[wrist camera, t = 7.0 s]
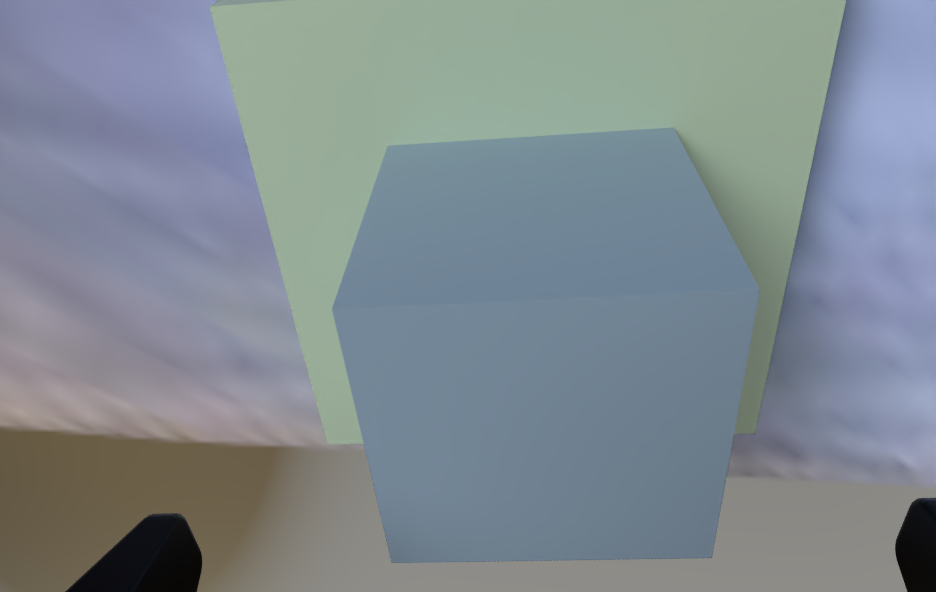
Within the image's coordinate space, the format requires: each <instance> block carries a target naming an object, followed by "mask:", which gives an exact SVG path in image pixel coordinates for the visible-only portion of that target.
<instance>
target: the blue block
mask: <svg viewBox="0 0 936 592" xmlns="http://www.w3.org/2000/svg"><path fill="white" fill-rule="evenodd" d="M759 293H760V289H759V287H758V285H757V283H756V281H755V279H754V277H753V276H752V274H751V272H750V270H749V268H748V266H747V264H746V262H745V261H744V259H743V257H742V255H741V253H740V251H739V249H738V247H737V246H736V244H735V242H734V240H733V238H732V236H731V234H730V232H729V231H728V229H727V227H726V225H725V223H724V221H723V219H722V217H721V216H720V214H719V212H718V210H717V208H716V206H715V204H714V202H713V201H712V199H711V197H710V195H709V193H708V191H707V189H706V187H705V186H704V184H703V182H702V180H701V178H700V176H699V174H698V172H697V171H696V169H695V167H694V165H693V163H692V161H691V159H690V157H689V156H688V154H687V152H686V150H685V148H684V146H683V144H682V142H681V141H680V139H679V137H678V135H677V133H676V131H675V129H674V127H673V128H658V129H642V130H626V131H611V132H595V133H579V134H563V135H548V136H532V137H516V138H501V139H485V140H469V141H454V142H438V143H422V144H406V145H391V146H387V149H386V152H385V155H384V158H383V161H382V164H381V167H380V169H379V172H378V175H377V178H376V181H375V184H374V187H373V190H372V193H371V196H370V199H369V202H368V205H367V208H366V210H365V213H364V216H363V219H362V222H361V225H360V228H359V231H358V234H357V237H356V240H355V243H354V246H353V249H352V252H351V254H350V257H349V260H348V263H347V266H346V269H345V272H344V275H343V278H342V281H341V284H340V287H339V290H338V293H337V295H336V298H335V301H334V304H333V307H332V312H333V316H334V320H335V324H336V329H337V333H338V337H339V341H340V346H341V350H342V354H343V358H344V363H345V367H346V371H347V375H348V380H349V384H350V388H351V392H352V396H353V401H354V405H355V409H356V413H357V418H358V422H359V426H360V430H361V435H362V439H363V443H364V447H365V452H366V456H367V460H368V464H369V468H370V473H371V477H372V481H373V486H374V489H375V494H376V498H377V502H378V507H379V511H380V515H381V519H382V524H383V528H384V532H385V536H386V541H387V545H388V549H389V553H390V558H391V562H392V563H421V562H486V561H543V560H544V561H551V560H611V559H612V560H614V559H676V558H677V559H678V558H712V554H713V549H714V543H715V537H716V532H717V526H718V521H719V515H720V510H721V504H722V499H723V493H724V487H725V482H726V476H727V471H728V465H729V460H730V454H731V449H732V443H733V437H734V432H735V426H736V421H737V415H738V410H739V404H740V398H741V393H742V387H743V382H744V376H745V371H746V365H747V359H748V354H749V348H750V343H751V337H752V332H753V326H754V321H755V315H756V309H757V304H758V298H759Z"/></svg>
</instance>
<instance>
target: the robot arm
mask: <svg viewBox="0 0 936 592" xmlns="http://www.w3.org/2000/svg"><path fill="white" fill-rule="evenodd" d="M895 550H896V558H897V561H898V565H899V567H900V571H901V574H902V577H903V580H904V583H905V586H906V589H907V592H936V498H919V499H917V500H915V501H914V502H912V504H911V506H910V508H909V510H908V513H907V515H906V517H905V520H904V522H903V524H902V527H901V529H900V532H899V534H898V537H897V539H896V545H895ZM201 569H202V555H201V551H200V548H199V546H198V544H197V542H196V540H195V538H194V536H193V533H192V531H191V529H190V527H189V525H188V523H187V521H186V519H185V518H184V517H183V516H182V515H181V514H178V513H167V514H165V513H163V514H152V515H149V516H148V517H146V518H144V519H143V520H142V521H141V522H140V523H139V524H138V525H137V526H136V527H134V528H133V529H132V530H131V531H130V532H129V533H128V534H127V535H126V536H125V537H124V538H123V539H121V540H120V541H119V542H118V543H117V544H116V545H115V546H114V547H113V548H112V549H111V550H110V551H108V552H107V553H106V554H105V555H104V556H103V557H102V558H101V559H100V560H99V561H98V562H97V563H96V564H95V565H93V566H92V567H91V568H90V569H89V570H88V571H87V572H86V573H85V574H84V575H83V576H82V577H81V578H79V580H77V581H76V582H75V583H74V584H73V585H72V586H71V587H70V588H69V589H68V590H67V591H65V592H197V588H198V584H199V579H200V575H201Z"/></svg>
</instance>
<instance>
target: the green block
mask: <svg viewBox="0 0 936 592" xmlns="http://www.w3.org/2000/svg"><path fill="white" fill-rule="evenodd" d="M845 4H846V0H219V1H217V2H216V3H214V4H213V5H211V6H210V10H211V14H212V17H213V21H214V25H215V28H216V32H217V36H218V40H219V43H220V47H221V51H222V54H223V58H224V62H225V66H226V69H227V73H228V77H229V80H230V84H231V88H232V92H233V95H234V99H235V103H236V106H237V110H238V114H239V118H240V121H241V125H242V129H243V132H244V136H245V140H246V144H247V147H248V151H249V155H250V158H251V162H252V166H253V170H254V173H255V177H256V181H257V184H258V188H259V192H260V196H261V199H262V203H263V207H264V210H265V214H266V218H267V222H268V225H269V229H270V233H271V236H272V240H273V244H274V248H275V251H276V255H277V259H278V262H279V266H280V270H281V274H282V277H283V281H284V285H285V288H286V292H287V296H288V300H289V303H290V307H291V311H292V314H293V318H294V322H295V326H296V329H297V333H298V337H299V340H300V344H301V348H302V352H303V355H304V359H305V363H306V366H307V370H308V374H309V378H310V381H311V385H312V389H313V392H314V396H315V400H316V404H317V407H318V411H319V415H320V418H321V422H322V426H323V430H324V433H325V437H326V441H327V444H364V443H363V439H362V435H361V430H360V426H359V422H358V418H357V413H356V409H355V405H354V401H353V396H352V392H351V388H350V384H349V380H348V375H347V371H346V367H345V363H344V358H343V354H342V350H341V346H340V341H339V337H338V333H337V329H336V324H335V320H334V316H333V312H332V307H333V304H334V301H335V298H336V295H337V293H338V290H339V287H340V284H341V281H342V278H343V275H344V272H345V269H346V266H347V263H348V260H349V257H350V254H351V252H352V249H353V246H354V243H355V240H356V237H357V234H358V231H359V228H360V225H361V222H362V219H363V216H364V213H365V210H366V208H367V205H368V202H369V199H370V196H371V193H372V190H373V187H374V184H375V181H376V178H377V175H378V172H379V169H380V167H381V164H382V161H383V158H384V155H385V152H386V149H387V146H391V145H406V144H422V143H438V142H454V141H469V140H485V139H501V138H516V137H532V136H548V135H563V134H579V133H595V132H611V131H626V130H642V129H658V128H673V127H674V129H675V131H676V133H677V135H678V137H679V139H680V141H681V142H682V144H683V146H684V148H685V150H686V152H687V154H688V156H689V157H690V159H691V161H692V163H693V165H694V167H695V169H696V171H697V172H698V174H699V176H700V178H701V180H702V182H703V184H704V186H705V187H706V189H707V191H708V193H709V195H710V197H711V199H712V201H713V202H714V204H715V206H716V208H717V210H718V212H719V214H720V216H721V217H722V219H723V221H724V223H725V225H726V227H727V229H728V231H729V232H730V234H731V236H732V238H733V240H734V242H735V244H736V246H737V247H738V249H739V251H740V253H741V255H742V257H743V259H744V261H745V262H746V264H747V266H748V268H749V270H750V272H751V274H752V276H753V277H754V279H755V281H756V283H757V285H758V287H759V289H760V293H759V298H758V304H757V309H756V315H755V321H754V326H753V332H752V337H751V343H750V348H749V354H748V359H747V365H746V371H745V376H744V382H743V387H742V393H741V398H740V404H739V410H738V415H737V421H736V426H735V432H734V434H755V431H756V426H757V422H758V417H759V412H760V407H761V403H762V398H763V393H764V388H765V384H766V379H767V374H768V369H769V365H770V360H771V355H772V350H773V346H774V341H775V336H776V331H777V327H778V322H779V317H780V312H781V308H782V303H783V298H784V293H785V289H786V284H787V279H788V274H789V270H790V265H791V260H792V255H793V251H794V246H795V241H796V236H797V232H798V227H799V222H800V217H801V213H802V208H803V203H804V198H805V194H806V189H807V184H808V179H809V175H810V170H811V165H812V160H813V156H814V151H815V146H816V141H817V137H818V132H819V127H820V122H821V118H822V113H823V108H824V103H825V99H826V94H827V89H828V84H829V80H830V75H831V70H832V65H833V61H834V56H835V51H836V46H837V42H838V37H839V32H840V27H841V23H842V18H843V13H844V8H845Z"/></svg>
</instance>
